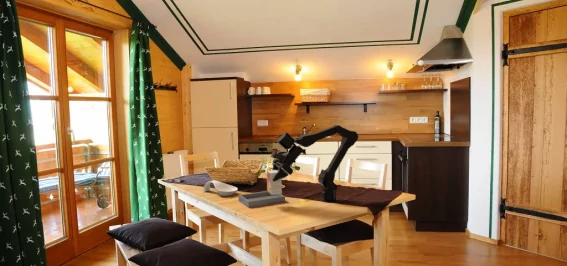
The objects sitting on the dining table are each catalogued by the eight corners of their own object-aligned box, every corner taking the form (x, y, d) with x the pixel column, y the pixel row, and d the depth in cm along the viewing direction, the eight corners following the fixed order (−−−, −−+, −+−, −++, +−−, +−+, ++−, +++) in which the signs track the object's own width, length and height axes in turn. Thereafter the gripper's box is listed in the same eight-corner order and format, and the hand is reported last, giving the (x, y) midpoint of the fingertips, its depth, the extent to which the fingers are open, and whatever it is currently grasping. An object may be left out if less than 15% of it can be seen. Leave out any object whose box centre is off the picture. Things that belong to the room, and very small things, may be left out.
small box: (267, 191, 189) (266, 170, 188) (277, 190, 191) (277, 169, 190) (270, 194, 182) (270, 173, 181) (282, 193, 183) (281, 172, 182)
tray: (273, 195, 208) (272, 190, 208) (285, 202, 194) (285, 196, 194) (238, 200, 200) (238, 194, 200) (248, 207, 186) (248, 201, 185)
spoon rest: (242, 194, 215) (241, 181, 215) (227, 198, 206) (227, 185, 205) (213, 189, 229) (212, 178, 228) (198, 193, 220) (197, 181, 219)
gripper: (275, 143, 194) (255, 166, 192) (285, 146, 176) (263, 172, 174) (290, 157, 197) (271, 179, 195) (302, 162, 179) (280, 187, 177)
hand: (271, 179), depth 185 cm, fingers closed on small box, 8 cm apart
